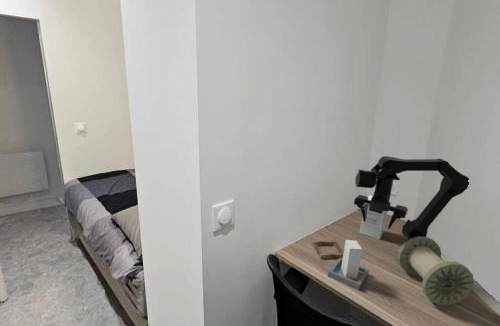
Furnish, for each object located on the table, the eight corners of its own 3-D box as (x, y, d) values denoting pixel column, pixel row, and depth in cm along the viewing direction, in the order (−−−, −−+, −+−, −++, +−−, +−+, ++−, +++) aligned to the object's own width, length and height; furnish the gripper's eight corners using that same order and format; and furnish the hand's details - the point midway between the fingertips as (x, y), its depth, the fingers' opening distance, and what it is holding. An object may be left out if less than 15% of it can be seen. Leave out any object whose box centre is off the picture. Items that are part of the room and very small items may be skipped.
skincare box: (357, 279, 97) (362, 249, 94) (345, 278, 97) (350, 248, 94) (352, 268, 103) (357, 240, 100) (340, 267, 103) (345, 239, 100)
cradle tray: (368, 274, 101) (369, 269, 101) (358, 290, 93) (359, 285, 92) (339, 262, 108) (339, 257, 107) (327, 275, 99) (328, 271, 99)
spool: (466, 306, 88) (479, 265, 84) (420, 304, 88) (430, 263, 84) (433, 272, 104) (442, 237, 100) (394, 271, 104) (401, 235, 100)
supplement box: (364, 225, 138) (369, 194, 134) (383, 231, 133) (390, 199, 129) (358, 233, 131) (364, 200, 126) (379, 239, 126) (386, 205, 121)
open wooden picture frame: (334, 243, 121) (335, 240, 120) (345, 257, 111) (346, 254, 110) (311, 244, 119) (312, 241, 119) (320, 258, 109) (320, 255, 109)
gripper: (352, 188, 106) (346, 224, 110) (406, 201, 95) (397, 241, 99) (361, 181, 115) (355, 215, 119) (411, 193, 104) (403, 230, 108)
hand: (376, 225), depth 111 cm, fingers open, 9 cm apart
